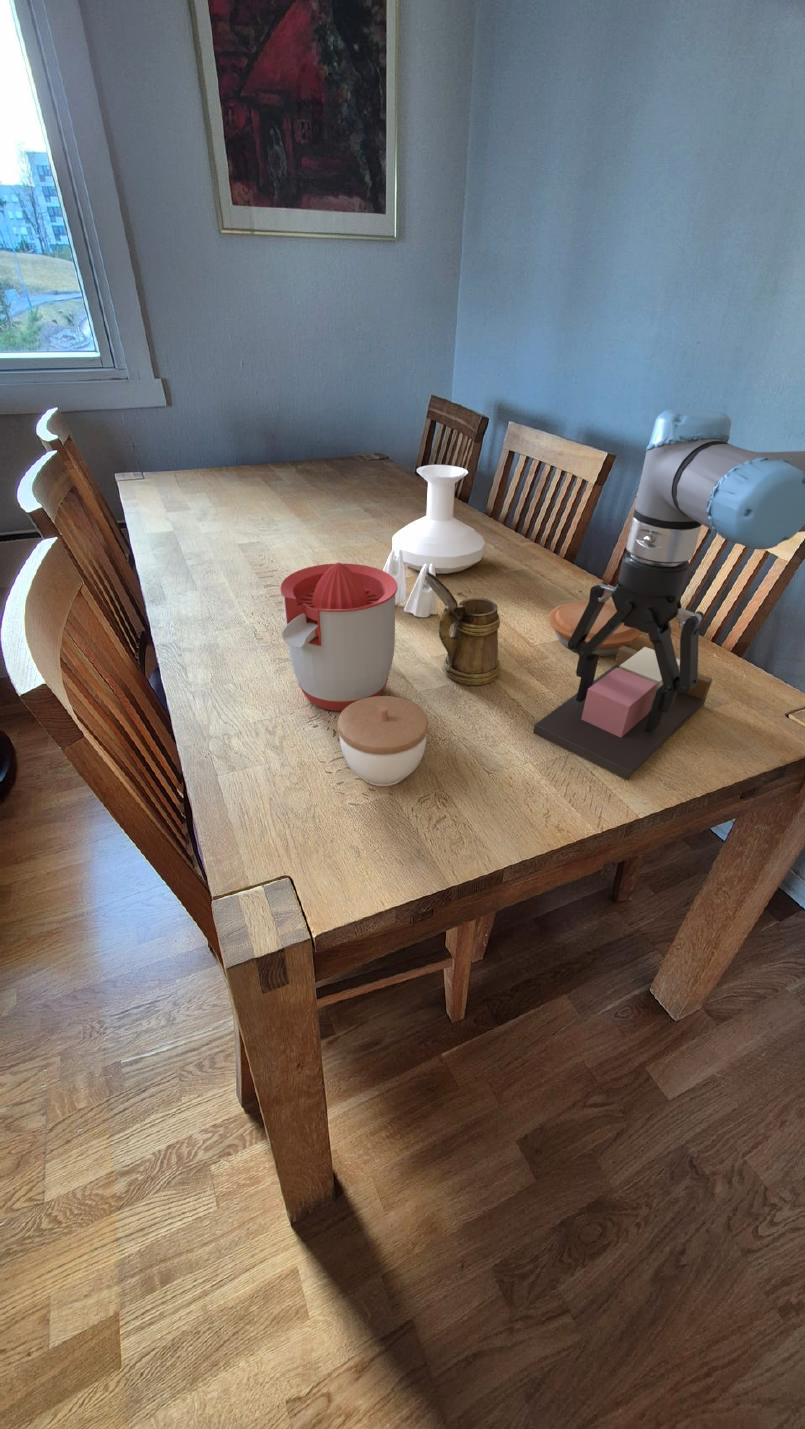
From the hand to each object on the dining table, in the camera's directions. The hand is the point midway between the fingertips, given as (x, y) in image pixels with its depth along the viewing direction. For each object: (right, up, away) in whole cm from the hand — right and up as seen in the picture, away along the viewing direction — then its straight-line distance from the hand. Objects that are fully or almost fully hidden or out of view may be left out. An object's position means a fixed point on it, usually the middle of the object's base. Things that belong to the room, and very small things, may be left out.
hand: (616, 712), depth 86 cm
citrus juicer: (-39, +3, +7) cm, 39 cm away
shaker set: (-29, +19, +31) cm, 47 cm away
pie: (+3, +12, +22) cm, 26 cm away
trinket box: (-32, -8, -8) cm, 34 cm away
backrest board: (+2, -1, +3) cm, 3 cm away
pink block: (0, -1, 0) cm, 1 cm away
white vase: (-22, +32, +50) cm, 64 cm away
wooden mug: (-21, +6, +12) cm, 25 cm away
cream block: (+6, +3, +6) cm, 9 cm away
